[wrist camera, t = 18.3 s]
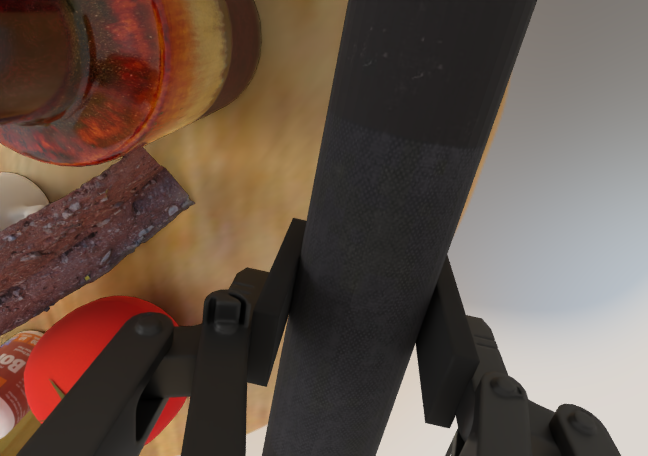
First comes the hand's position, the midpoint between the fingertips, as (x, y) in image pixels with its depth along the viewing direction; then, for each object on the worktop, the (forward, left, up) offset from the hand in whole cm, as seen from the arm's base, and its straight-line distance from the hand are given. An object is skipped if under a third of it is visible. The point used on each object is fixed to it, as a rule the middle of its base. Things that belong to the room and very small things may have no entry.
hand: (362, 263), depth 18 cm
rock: (+4, -24, -12) cm, 27 cm away
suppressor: (0, 0, +5) cm, 5 cm away
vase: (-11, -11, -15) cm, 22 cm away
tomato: (+13, -24, -15) cm, 31 cm away
